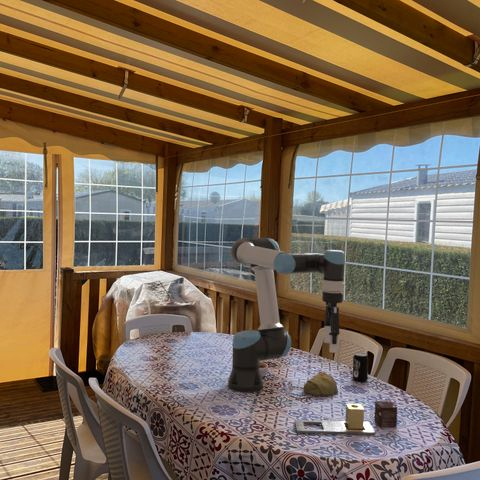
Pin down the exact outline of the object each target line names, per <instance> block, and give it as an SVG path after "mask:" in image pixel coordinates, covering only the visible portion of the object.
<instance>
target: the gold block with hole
mask: <svg viewBox="0 0 480 480" xmlns="http://www.w3.org/2000/svg"><path fill="white" fill-rule="evenodd" d="M364 417H365V409H364V407H363V406H362V404H361V403H345V421H346V423H345V426H346V428H347V430H364V429H363V425H364V422H365V421H364Z"/></svg>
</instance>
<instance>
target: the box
mask: <svg viewBox="0 0 480 480" xmlns="http://www.w3.org/2000/svg"><path fill="white" fill-rule="evenodd" d="M373 419H374V420H373V421H374V423H375V424H376V425H377V426H378V428H380V429H388V428H389V429H390V428H392V429H396V428H397V425H398V424H397V422H398V407H397V405H396V404H395V403H393V402H392V401H390V400H388V401H387V400H384V401H383V400H382V401H381V400H380V401H374V417H373Z"/></svg>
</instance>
